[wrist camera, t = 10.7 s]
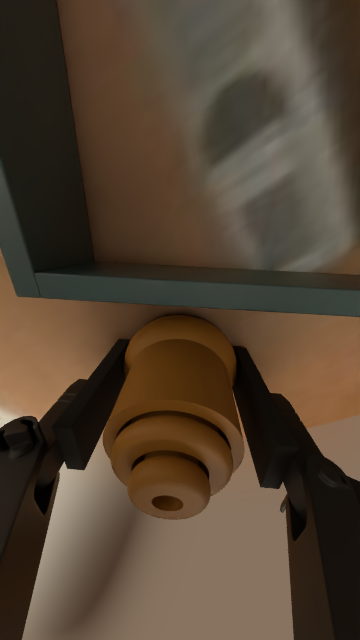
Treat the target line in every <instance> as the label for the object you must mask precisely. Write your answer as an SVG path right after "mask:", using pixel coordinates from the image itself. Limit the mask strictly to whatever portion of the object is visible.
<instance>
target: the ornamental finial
mask: <svg viewBox="0 0 360 640" xmlns="http://www.w3.org/2000/svg"><path fill="white" fill-rule="evenodd" d="M124 372H125V377H126V380H125V382H124V385H123V387H122V389H121V392H120V394H119V396H118V399H117V401H116V403H115V406H114V408H113V411H112V413H111V415H110V418H109V420H108V422H107V425H106V427H105V429H104V433H103V445H104V448H105V452H106V454H107V455H108V457H109V458H110V460H111V464H112V468H113V471H114V473H115V474H116V476H117V477H118V479H119V480H120V481H121V482H122V483H123V484H125V486H127V490H128V495H129V498H130V500H131V502H132V503H133V504H134V505H135V506H136V507H137V508H138V509H140V510H141V511H142V512H144V513H146V514H148V515H151V516H154V517H158V518H163V519H172V520H174V519H176V520H177V519H186V518H190V517H193V516H195V515H197V514H199V513H201V512H202V511H203V510H204V509H205V508H206V506H207V505H208V503H209V500H210V496H213V495H214V494H216V493H218V492H219V491H220V490H222V489H223V488H224V487H225V486H226V485H227V483H228V482H229V480H230V478H231V475H232V473H233V472H234V471H235V470H236V469H237V468H238V467H239V465H240V464H241V462H242V459H243V457H244V442H243V437H242V433H241V428H240V424H239V420H238V415H237V411H236V406H235V402H234V397H233V393H232V387H233V385H234V383H235V379H236V374H237V361H236V356H235V353H234V350H233V347H232V345H231V344H230V342H229V340H228V339H227V338H226V336H225V335H224V334H223V333H222V332H221V331H220V330H219V329H218V328H216V327H215V326H214V325H212V324H210V323H209V322H207V321H205V320H202V319H200V318H197V317H193V316H187V315H171V316H165V317H162V318H159V319H156V320H154V321H152V322H150V323H148V324H146V325H145V326H144V327H142V328H141V329H140V330H139V331H138V332H137V333H136V334H135V335H134V337H133V338H132V340H131V341H130V343H129V345H128V347H127V350H126V353H125V358H124Z"/></svg>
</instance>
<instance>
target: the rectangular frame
mask: <svg viewBox="0 0 360 640" xmlns="http://www.w3.org/2000/svg"><path fill="white" fill-rule="evenodd" d="M0 248H1V251H2V254H3V257H4V260H5V263H6V266H7V269H8V272H9V274H10V277H11V280H12V283H13V286H14V289H15V292H16V295H17V296H18V297H32V298H48V299H64V300H81V301H98V302H115V303H132V304H149V305H166V306H183V307H200V308H216V309H233V310H250V311H267V312H284V313H301V314H318V315H335V316H351V317H360V275H346V274H327V273H307V272H287V271H267V270H248V269H228V268H208V267H188V266H169V265H149V264H129V263H109V262H94V256H93V249H92V243H91V236H90V229H89V222H88V216H87V209H86V202H85V195H84V188H83V182H82V175H81V168H80V161H79V155H78V148H77V141H76V134H75V128H74V121H73V114H72V107H71V101H70V94H69V87H68V80H67V74H66V67H65V60H64V53H63V47H62V40H61V33H60V26H59V20H58V13H57V6H56V0H0Z"/></svg>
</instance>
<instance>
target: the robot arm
mask: <svg viewBox="0 0 360 640" xmlns="http://www.w3.org/2000/svg"><path fill="white" fill-rule="evenodd" d="M128 345H129V340H123V339H119V340H118V341H117V342H116V343H115V345H114V346H113V347H112V349H111V350H110V351H109V353H108V354H107V355H106V356H105V358H104V359H103V360H102V362H101V363H100V364H99V366H98V367H97V368H96V369H95V371H94V372H93V373H92V375H91V376H90V377H89V379H88V380H86V379H79V380H77V381H76V382H74V383H73V384H72V385H70V386H69V387H68V389H67V390H66V391H65V392H64V393H63V395H62V396H61V397H60V398H59V399H58V401H57V402H56V403H55V404H54V405H53V406H52V407H51V408H50V410H49V411H48V412H47V413H46V414H45V415H44V416H43V418H42V419H41V420H40V421H39V422H38V420H37V419H36V418H35V417H33V416H23V417H20V418H17V419H14V420H12V421H11V422H9V423H7V424H5V425H4V426H3V427H1V428H0V640H22V635H23V631H24V627H25V623H26V619H27V615H28V610H29V606H30V602H31V598H32V594H33V589H34V585H35V581H36V576H37V572H38V568H39V564H40V560H41V555H42V551H43V547H44V543H45V538H46V534H47V530H48V525H49V521H50V517H51V513H52V508H53V504H54V500H55V496H56V492H57V487H58V483H59V476H60V473H59V470H60V468H61V466H62V464H63V463H64V461H65V464H66V466H67V469H77V470H85V468H86V466H87V463H88V462H89V459H90V457H91V455H92V453H93V451H94V449H95V447H96V445H97V442H98V440H99V438H100V436H101V434H102V432H103V430H104V428H105V426H106V424H107V421H108V419H109V417H110V415H111V413H112V411H113V408H114V406H115V403H116V401H117V399H118V396H119V394H120V392H121V389H122V387H123V385H124V382H125V380H126V377H125V372H124V358H125V353H126V350H127V347H128ZM234 353H235V356H236V361H237V374H236V379H235V383H234V385H233V387H232V389H233V393H234V396H235V400H236V403H237V407H238V410H239V414H240V417H241V421H242V424H243V428H244V431H245V435H246V438H247V442H248V445H249V448H250V452H251V456H252V459H253V462H254V466H255V469H256V473H257V477H258V480H259V484H260V487H264V488H275V489H279V488H280V486H281V484H282V482H283V483H284V485H285V488H286V490H287V495H286V497H285V498H284V500H283V502H282V504H281V508H280V511H281V512H282V513H283V512H284V510H285V509H286V521H287V537H288V553H289V568H290V584H291V601H292V616H293V633H294V640H360V481H357V480H355V479H352V478H350V477H348V476H346V475H345V473H344V472H343V471H342V470H341V469H340V468H339V467H338V466H337V465H336V464H334V463H333V462H332V461H330V460H329V459H327V458H325V457H324V456H323V455H322V453H321V452H320V450H319V449H318V447H317V445H316V444H315V442H314V441H313V439H312V437H311V436H310V434H309V433H308V431H307V429H306V428H305V426H304V425H303V423H302V421H300V418H299V417H298V415H297V413H295V410H294V409H293V407H292V405H291V404H290V402H289V401H288V400H287V399H286V398H285V397H283V396H282V395H281V394H277V393H270V392H269V390H268V388H267V386H266V384H265V382H264V380H263V379H262V377H261V375H260V373H259V371H258V369H257V367H256V365H255V364H254V362H253V360H252V358H251V356H250V354H249V352H248V350H247V349H246V348H242V347H235V350H234Z"/></svg>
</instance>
